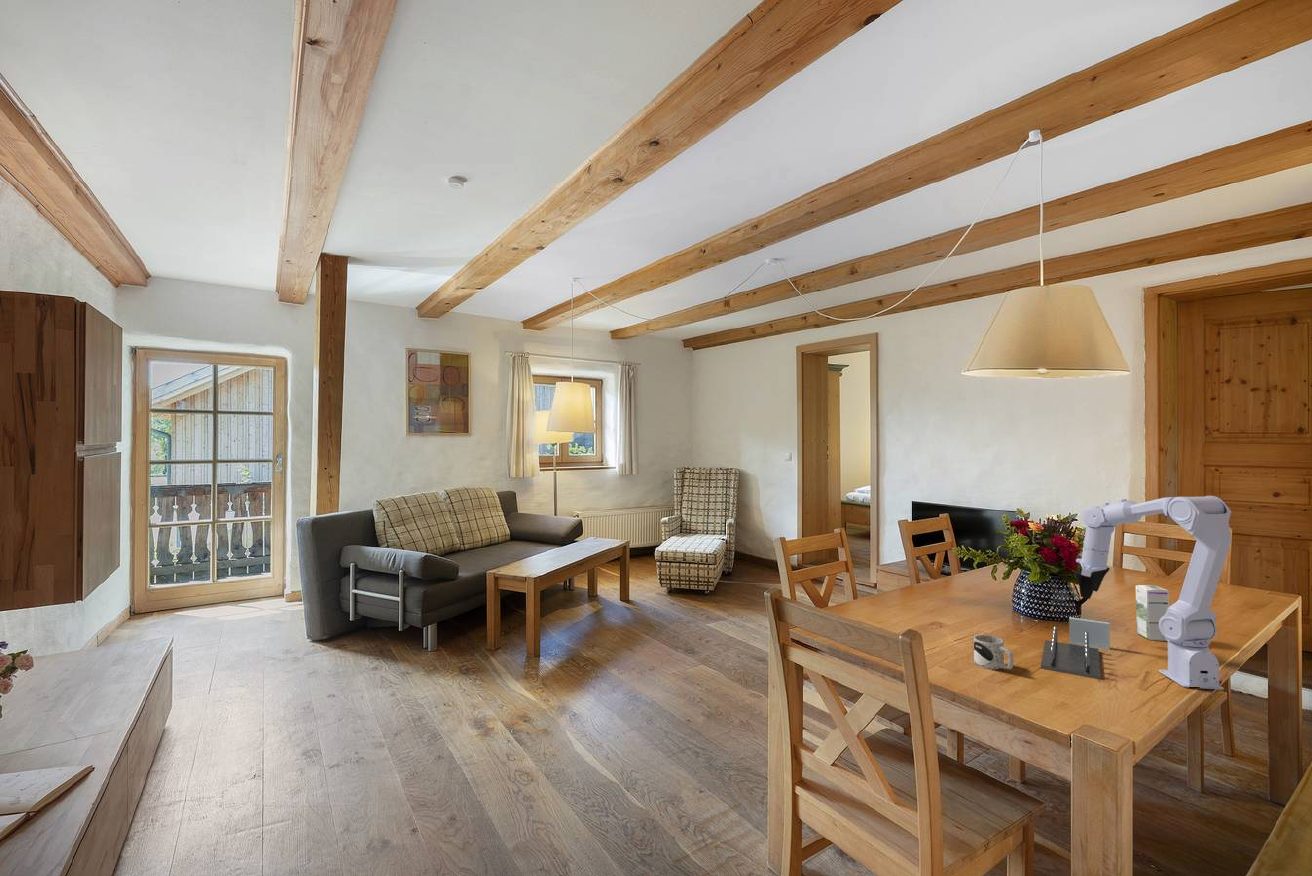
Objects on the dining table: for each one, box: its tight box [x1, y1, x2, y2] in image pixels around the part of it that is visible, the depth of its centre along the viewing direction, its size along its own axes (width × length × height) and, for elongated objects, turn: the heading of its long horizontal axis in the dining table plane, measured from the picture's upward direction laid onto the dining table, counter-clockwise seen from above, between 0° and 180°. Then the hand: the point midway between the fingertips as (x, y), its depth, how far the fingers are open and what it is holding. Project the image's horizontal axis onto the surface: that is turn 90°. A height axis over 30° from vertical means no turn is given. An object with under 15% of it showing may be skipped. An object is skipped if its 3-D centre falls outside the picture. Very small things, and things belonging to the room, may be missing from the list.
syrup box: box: [1135, 584, 1170, 642], centre depth 168 cm, size 6×6×14 cm
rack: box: [1040, 626, 1102, 680], centre depth 152 cm, size 22×12×5 cm, turn 144°
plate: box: [1068, 616, 1111, 650], centre depth 163 cm, size 2×9×7 cm, turn 54°
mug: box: [973, 634, 1014, 671], centre depth 148 cm, size 10×7×7 cm
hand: (1089, 593), depth 165 cm, fingers open, 7 cm apart
